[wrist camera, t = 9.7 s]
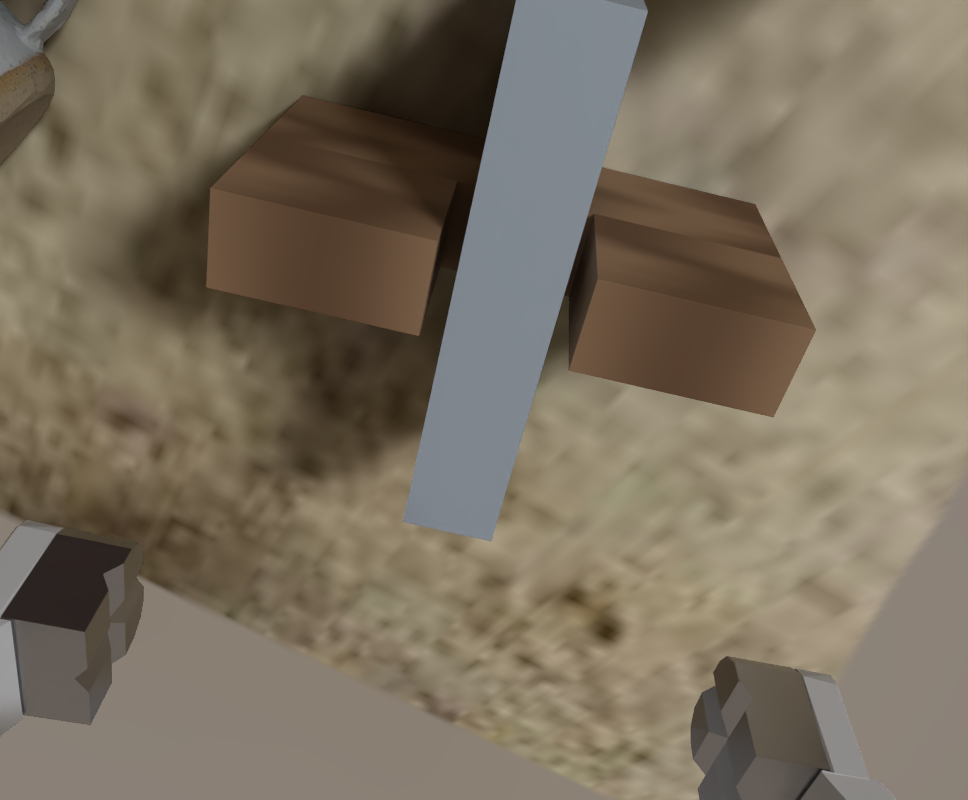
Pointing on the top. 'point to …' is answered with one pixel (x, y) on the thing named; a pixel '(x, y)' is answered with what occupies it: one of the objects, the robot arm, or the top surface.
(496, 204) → the slate board
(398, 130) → the walnut board
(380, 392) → the top surface
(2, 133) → the ceramic mug
